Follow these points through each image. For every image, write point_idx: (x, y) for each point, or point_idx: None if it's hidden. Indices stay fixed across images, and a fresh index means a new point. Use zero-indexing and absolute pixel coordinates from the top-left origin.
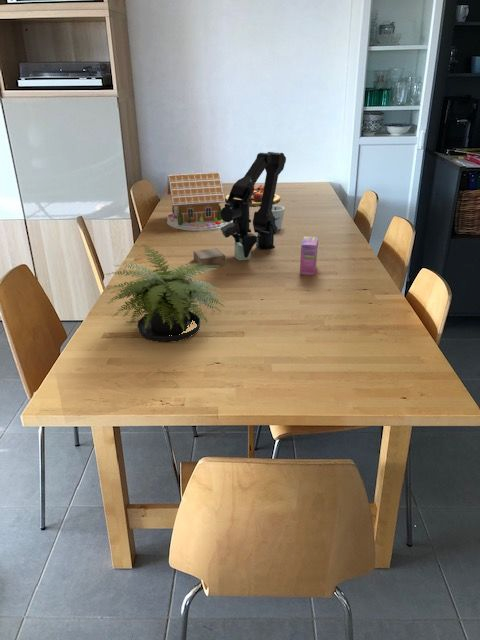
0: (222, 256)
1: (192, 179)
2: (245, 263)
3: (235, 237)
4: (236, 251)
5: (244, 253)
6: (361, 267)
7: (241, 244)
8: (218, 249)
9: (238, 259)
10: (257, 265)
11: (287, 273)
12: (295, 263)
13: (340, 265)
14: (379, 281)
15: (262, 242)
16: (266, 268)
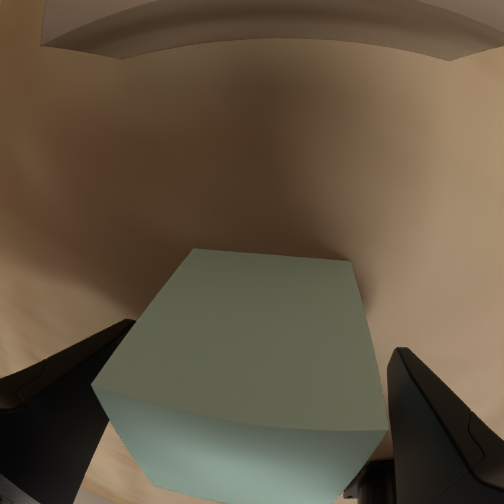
0: (50, 9)
1: None
2: (99, 273)
3: (476, 500)
4: (261, 311)
5: (80, 342)
6: (85, 481)
7: (196, 460)
8: (440, 5)
9: (191, 253)
10: (61, 327)
11: (2, 364)
12: (102, 447)
13: (93, 478)
14: None
15: (385, 499)
16: (28, 338)
